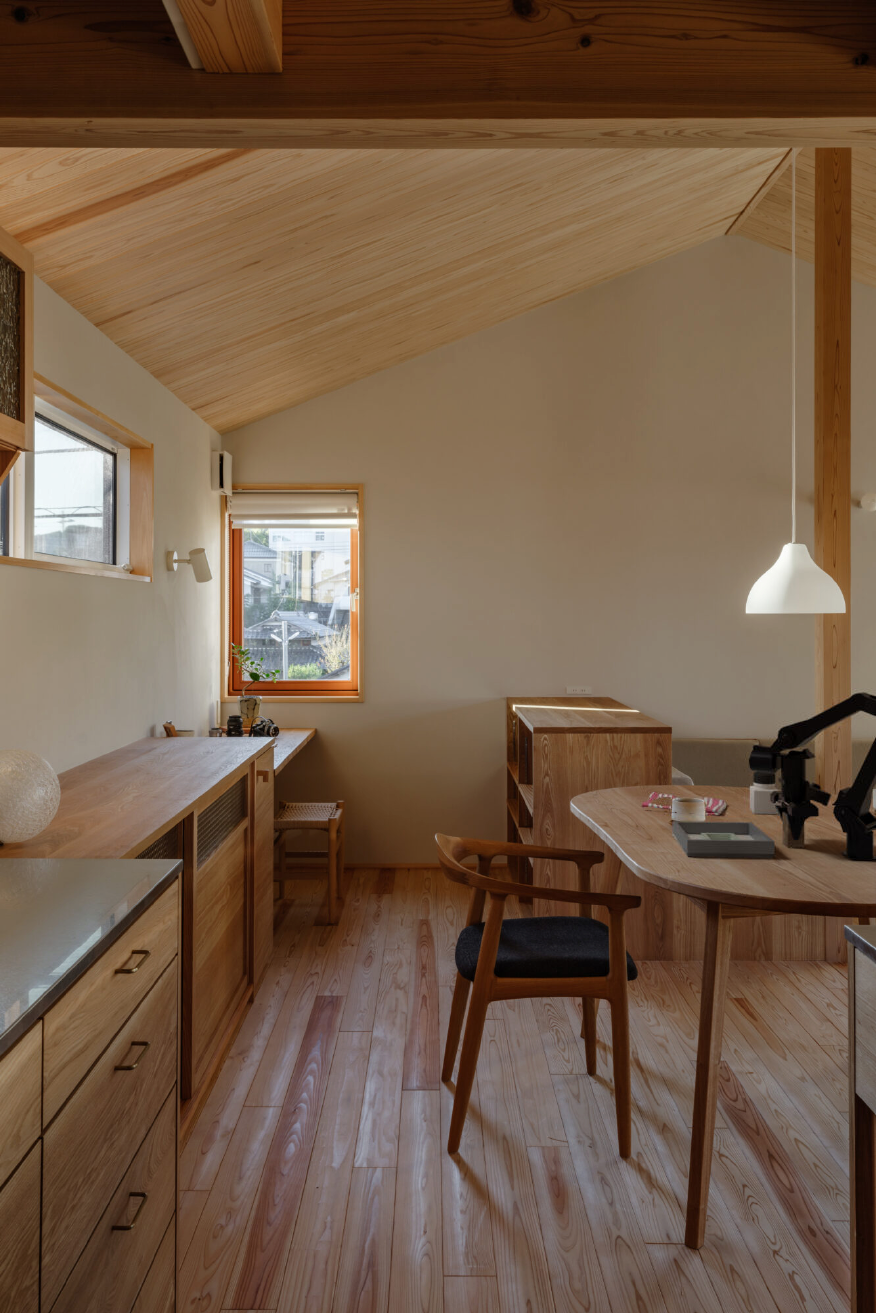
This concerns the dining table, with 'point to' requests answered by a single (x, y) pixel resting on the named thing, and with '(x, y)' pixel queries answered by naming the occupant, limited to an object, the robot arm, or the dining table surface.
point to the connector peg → (788, 838)
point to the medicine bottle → (763, 793)
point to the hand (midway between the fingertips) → (793, 837)
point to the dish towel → (711, 804)
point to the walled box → (723, 839)
